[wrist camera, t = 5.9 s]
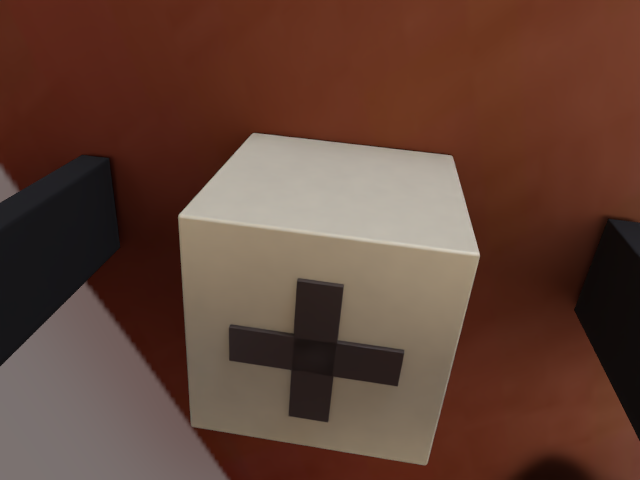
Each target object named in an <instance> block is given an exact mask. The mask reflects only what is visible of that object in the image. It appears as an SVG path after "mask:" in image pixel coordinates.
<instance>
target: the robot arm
mask: <svg viewBox="0 0 640 480" xmlns="http://www.w3.org/2000/svg"><path fill="white" fill-rule="evenodd" d="M119 248H120V241H119V233H118V225H117V217H116V209H115V201H114V193H113V186H112V178H111V170H110V162H109V158H103V157H95V156H87V155H81V156H79V157H78V158H76V159H74V160H73V161H71V162H69V163H67V164H66V165H64V166H62V167H61V168H59V169H57V170H55V171H54V172H52V173H50V174H49V175H47V176H45V177H44V178H42V179H40V180H38V181H37V182H35V183H33V184H32V185H30V186H28V187H26V188H25V189H23V190H21V191H20V192H18V193H16V194H14V195H13V196H11V197H9V198H8V199H6V200H4V201H2V202H1V203H0V366H1V365H2V364H3V363H4V362H5V361H6V360H7V359H8V358H9V357H10V356H11V355H12V354H13V353H14V352H15V351H16V350H17V349H18V348H19V347H20V346H21V345H22V344H23V343H24V342H25V341H26V340H27V339H28V338H29V337H30V336H31V335H32V334H33V333H34V332H35V331H36V330H37V329H38V328H39V327H40V326H41V325H42V324H43V323H44V322H45V321H46V320H47V319H49V317H51V315H53V313H55V311H57V310H58V309H59V308H60V306H61V305H63V304H64V302H66V301H67V300H68V299H69V298H70V297H71V296H72V295H73V294H74V293H75V292H76V291H77V290H78V289H79V288H80V287H81V286H82V285H83V284H84V283H85V282H86V281H87V280H88V279H89V278H90V277H91V276H92V275H93V274H94V273H95V272H96V271H97V270H98V269H99V268H100V267H101V266H102V265H103V264H104V263H105V262H106V261H107V260H108V259H109V258H110V257H111V256H112V255H113V254H114V253H115V252H116V251H117V250H118V249H119ZM574 311H575V313H576V315H577V317H578V319H579V321H580V323H581V325H582V327H583V329H584V331H585V333H586V335H587V337H588V339H589V341H590V343H591V345H592V346H593V348H594V350H595V352H596V354H597V356H598V358H599V360H600V362H601V364H602V366H603V368H604V370H605V372H606V374H607V376H608V378H609V380H610V382H611V384H612V386H613V388H614V390H615V392H616V394H617V396H618V398H619V400H620V402H621V404H622V406H623V408H624V410H625V412H626V414H627V416H628V418H629V420H630V422H631V424H632V426H633V428H634V430H635V432H636V434H637V436H638V438H639V440H640V223H638V222H630V221H622V220H613V219H608V220H607V223H606V226H605V228H604V231H603V234H602V236H601V239H600V242H599V244H598V247H597V250H596V252H595V255H594V258H593V260H592V263H591V266H590V268H589V271H588V274H587V277H586V279H585V282H584V285H583V287H582V290H581V293H580V295H579V298H578V301H577V303H576V306H575V309H574Z"/></svg>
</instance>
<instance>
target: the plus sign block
mask: <svg viewBox="0 0 640 480" xmlns="http://www.w3.org/2000/svg"><path fill="white" fill-rule="evenodd" d="M178 223H179V239H180V256H181V272H182V288H183V304H184V321H185V337H186V353H187V369H188V386H189V402H190V418H191V426H192V427H197V428H203V429H209V430H215V431H221V432H227V433H233V434H239V435H245V436H251V437H257V438H263V439H269V440H275V441H281V442H287V443H293V444H299V445H305V446H311V447H317V448H323V449H329V450H335V451H341V452H347V453H353V454H359V455H365V456H371V457H377V458H383V459H389V460H395V461H401V462H407V463H413V464H419V465H427V463H428V459H429V455H430V451H431V447H432V443H433V440H434V436H435V432H436V428H437V424H438V420H439V416H440V412H441V408H442V404H443V400H444V396H445V392H446V388H447V384H448V380H449V376H450V373H451V369H452V365H453V361H454V357H455V353H456V349H457V345H458V341H459V337H460V333H461V329H462V325H463V321H464V317H465V313H466V309H467V306H468V302H469V298H470V294H471V290H472V286H473V282H474V278H475V274H476V270H477V266H478V262H479V258H480V253H479V250H478V246H477V242H476V239H475V235H474V232H473V228H472V224H471V221H470V217H469V213H468V210H467V206H466V203H465V199H464V195H463V192H462V188H461V185H460V181H459V177H458V174H457V170H456V166H455V163H454V159H453V156H451V155H443V154H435V153H426V152H417V151H408V150H400V149H391V148H382V147H373V146H364V145H356V144H347V143H338V142H329V141H321V140H312V139H303V138H294V137H286V136H277V135H268V134H259V133H252V134H251V135H250V137H249V138H248V139H247V140H246V141H245V142H244V143H243V144H242V145H241V146H240V148H239V149H238V150H237V151H236V152H235V153H234V154H233V155H232V156H231V158H230V159H229V160H228V161H227V162H226V163H225V164H224V165H223V166H222V167H221V169H220V170H219V171H218V172H217V173H216V174H215V175H214V176H213V177H212V179H211V180H210V181H209V182H208V183H207V184H206V185H205V186H204V187H203V188H202V190H201V191H200V192H199V193H198V194H197V195H196V196H195V197H194V198H193V200H192V201H191V202H190V203H189V204H188V205H187V206H186V207H185V208H184V209H183V211H182V212H181V213H180V214H179V216H178Z"/></svg>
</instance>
